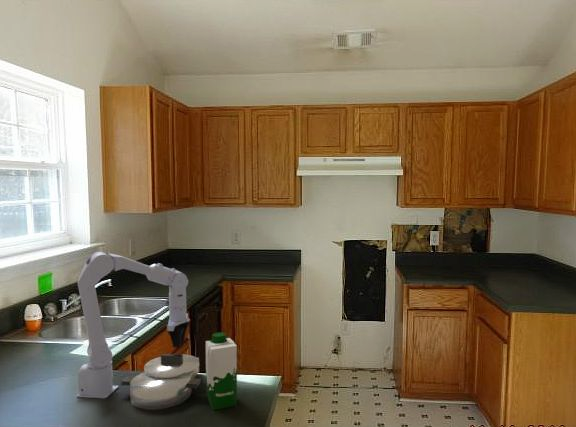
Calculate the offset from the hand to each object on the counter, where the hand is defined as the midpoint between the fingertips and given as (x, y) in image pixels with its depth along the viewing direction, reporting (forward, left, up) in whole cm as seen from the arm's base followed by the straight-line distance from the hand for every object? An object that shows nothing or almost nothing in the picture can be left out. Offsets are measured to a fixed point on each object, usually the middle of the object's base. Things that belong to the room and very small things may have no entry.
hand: (178, 345), depth 147 cm
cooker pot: (0, -10, -10) cm, 15 cm away
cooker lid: (0, -6, -5) cm, 8 cm away
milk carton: (+20, -18, -11) cm, 29 cm away
